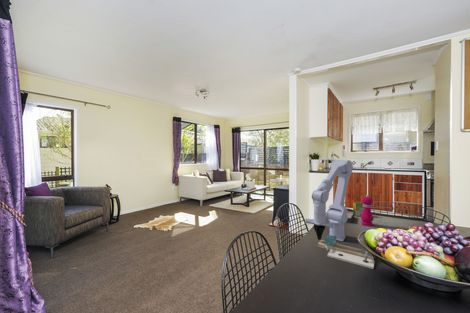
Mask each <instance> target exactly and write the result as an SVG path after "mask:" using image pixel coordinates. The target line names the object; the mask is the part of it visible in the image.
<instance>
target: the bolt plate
mask: <svg viewBox="0 0 470 313" xmlns="http://www.w3.org/2000/svg"><path fill="white" fill-rule="evenodd" d="M326 256H327V257H328V258H332V259H336V260H339V261H342V262H346V263H350V264H354V265H356V266H357V265H358V266H360V267H364V268H367V269H372V270H374V268H375V260H374V259H373V260H371V259H367V261H365V258H364V257H360V256H356V255H352V254H348V253H344V252H340V251H336V250H332V249H331V250H328V252H327V255H326Z"/></svg>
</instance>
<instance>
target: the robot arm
mask: <svg viewBox="0 0 470 313" xmlns="http://www.w3.org/2000/svg"><path fill="white" fill-rule="evenodd" d="M353 168H354V165H353V162H352V161H351V160H350V159H348V160H345V159H342V160H341V159H333V160H332V161H331V163H330V170H329V173H328V175H327V176H326V178H325V179H322V181H321V183H320V184H319V186H318V187H317V189H315V190H313V192H312V193H311V200H312V204H313V218H312V219H311V218H306V219H305V220H304V223H305V224H311V225H313V229H314V232H315V234H316V238H317V240H318V241H320V240H322V237H323V234H324V231H325V230H326V228H329V233H328V235H332V236H336V241H339V242H344V240H345V239H346V234H345V224H346V221H347V219H348V213H349V212H348V209H347V208H346V207H345V206H344V204H345V200H346V194H347V189H348V185H349V179H350V177H351V176H352V173H353ZM337 177H338V180H337V185H336V191H335V195H334V200H333V203H332V204H330V205H329V206H328V208H327V202H328V200H329V196H330V192H331V190H332V188H333V186H334V182H335V179H337ZM326 218H327V220H328V221H327V220H326Z"/></svg>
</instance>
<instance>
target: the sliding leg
mask: <svg viewBox="0 0 470 313" xmlns="http://www.w3.org/2000/svg"><path fill="white" fill-rule="evenodd" d="M324 241H325V245H326V249H325V251H326V252H329V249H328V246H333V247H334V245H335V244H336V243H337V240H336V236H332V235H329V234H327V235H326V236H325V238H324Z"/></svg>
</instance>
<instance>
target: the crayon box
mask: <svg viewBox="0 0 470 313" xmlns="http://www.w3.org/2000/svg"><path fill="white" fill-rule="evenodd" d="M352 205H353V206H352V208H353V210H352V213H353V214H354V217H361V214H362V213H363V210H364V206H363V202H362V200H355V202H353V203H352Z"/></svg>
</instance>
